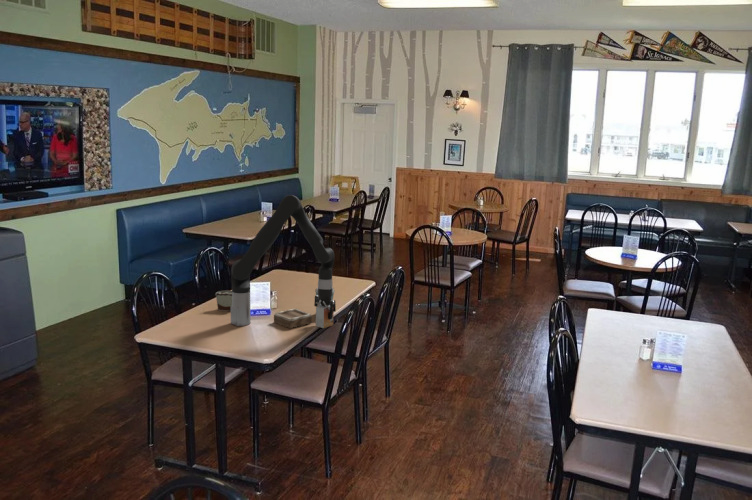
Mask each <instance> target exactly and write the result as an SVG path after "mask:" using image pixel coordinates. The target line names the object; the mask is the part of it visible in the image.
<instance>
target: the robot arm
mask: <svg viewBox="0 0 752 500" xmlns="http://www.w3.org/2000/svg"><path fill="white" fill-rule="evenodd" d="M290 217H292V218H293V219H294V221H295V222H296V224H297V225H298V227H299V228H300V230H301V233H302V234H303V236H304V238H305V239H306V241H307V242H308V244H309V245H310V247H311V249H312V252H313V255H314V257H315V259H316V260H317V262H319V263H320V264H321V265H320V267H319V268H318V279H317V288H318V295H316V294H315V295H314V304H313V305H314V307H315V308H316V307H318V306H324V307H326V309H327V310H328V319H329V320H330V319H332V313H333V312H334V313H335V312H337V311H336V305H337V304H336V300H335V299H333V300H331V296H332V288H334V287H333V268H334V264H335V258H336V257H335V252H334V249H332V248H331V247H325V246H324V239H323V237H322V236H321V234H320V232H319V231H318V230H317V228H316V227H315V225H314V223H312V222H311V220H310V219H309V216H308V215H307V213H306V211H305V209H304V207H303V205H302V203H301V200H300V199H299V197H297V196H296V195H293V194H288V195H285V196H284V197H283V198H282V200H280V203H279V204H278V206H277V207H276V209H275V211H274V213H273V214H272V215H271V216H270V218H269V219H268V220H267V221H266V222H265V223H264V225H263V226H261V228H260V229H259V231H258V232H257V233H256V234H255V236H254V238H253V240H252V241H251V243H250V246H249V248H248V250H247V251H246V253H245V254H244V255H243V256H242V258H241V259H237V260H235V261H233V263H232V265H231V272H230V273H231V291H232V306H231V311H230V324H231V325H233V326H236V327H239V326H240V327H241V326H243V327H244V326H248V325H250V324H251V319H252V318H251V281H250V279H251V278H250V277H251V274H252V271H253V270H254V268H255V267H256V265H257V263H258V262H259V261H260V259H261V258H262V257H263V256H264V255H265V254H266V252H268V250H269V249H270V248H271V247H272V246H273V244H274V242H275V241H276V240H277V238H278V237H279V235H280V234H281V231H282V229H283V227H284V225H285V224H286V222H287V221H288V219H289V218H290ZM329 305H330V306H329ZM329 308H330V309H329Z"/></svg>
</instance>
